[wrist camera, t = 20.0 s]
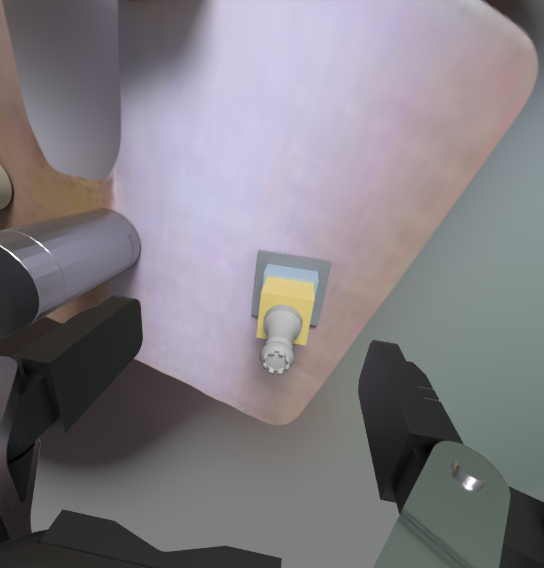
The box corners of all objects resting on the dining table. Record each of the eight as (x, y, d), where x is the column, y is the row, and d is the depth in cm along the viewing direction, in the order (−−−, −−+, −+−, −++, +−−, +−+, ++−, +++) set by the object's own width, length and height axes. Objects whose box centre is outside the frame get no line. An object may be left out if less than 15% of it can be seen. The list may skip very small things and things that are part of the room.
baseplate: (252, 312, 44) (246, 327, 40) (259, 250, 40) (253, 259, 36) (317, 323, 43) (317, 339, 39) (330, 261, 39) (332, 271, 36)
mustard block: (262, 316, 39) (256, 337, 35) (267, 276, 37) (261, 292, 32) (306, 323, 39) (305, 345, 34) (313, 283, 36) (314, 300, 32)
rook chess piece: (287, 342, 34) (281, 391, 27) (256, 322, 34) (242, 365, 26) (310, 317, 33) (310, 361, 25) (279, 295, 32) (269, 334, 25)
